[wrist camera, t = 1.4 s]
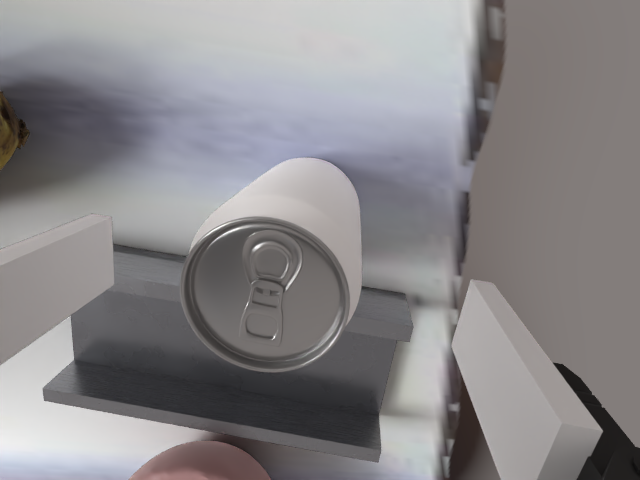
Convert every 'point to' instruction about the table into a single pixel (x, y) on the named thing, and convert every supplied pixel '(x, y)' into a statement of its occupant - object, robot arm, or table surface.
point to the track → (226, 367)
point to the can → (277, 268)
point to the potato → (10, 131)
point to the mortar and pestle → (202, 464)
